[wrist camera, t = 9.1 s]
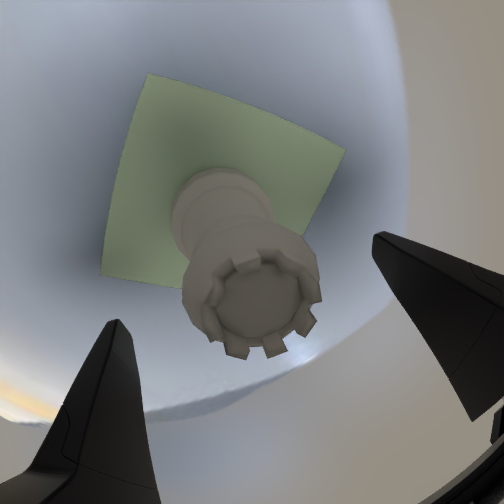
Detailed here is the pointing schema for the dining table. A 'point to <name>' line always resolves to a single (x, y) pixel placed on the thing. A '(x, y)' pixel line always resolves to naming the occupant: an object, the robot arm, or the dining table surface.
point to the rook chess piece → (242, 264)
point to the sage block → (198, 160)
